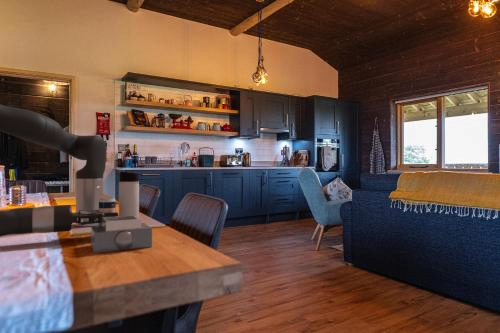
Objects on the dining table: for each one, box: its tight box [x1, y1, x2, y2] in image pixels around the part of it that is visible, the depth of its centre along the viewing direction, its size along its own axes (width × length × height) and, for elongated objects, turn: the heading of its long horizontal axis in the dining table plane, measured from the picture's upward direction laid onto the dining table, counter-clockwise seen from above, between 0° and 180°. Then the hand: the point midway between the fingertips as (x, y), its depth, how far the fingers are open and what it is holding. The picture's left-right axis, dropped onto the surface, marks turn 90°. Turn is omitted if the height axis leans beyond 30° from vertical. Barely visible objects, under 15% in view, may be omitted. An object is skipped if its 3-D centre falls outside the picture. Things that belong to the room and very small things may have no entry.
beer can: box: [98, 196, 117, 226], centre depth 101 cm, size 5×5×12 cm
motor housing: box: [90, 215, 153, 254], centre depth 90 cm, size 11×14×8 cm
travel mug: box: [118, 171, 140, 218], centre depth 110 cm, size 6×7×20 cm
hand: (116, 215), depth 103 cm, fingers closed on beer can, 4 cm apart
